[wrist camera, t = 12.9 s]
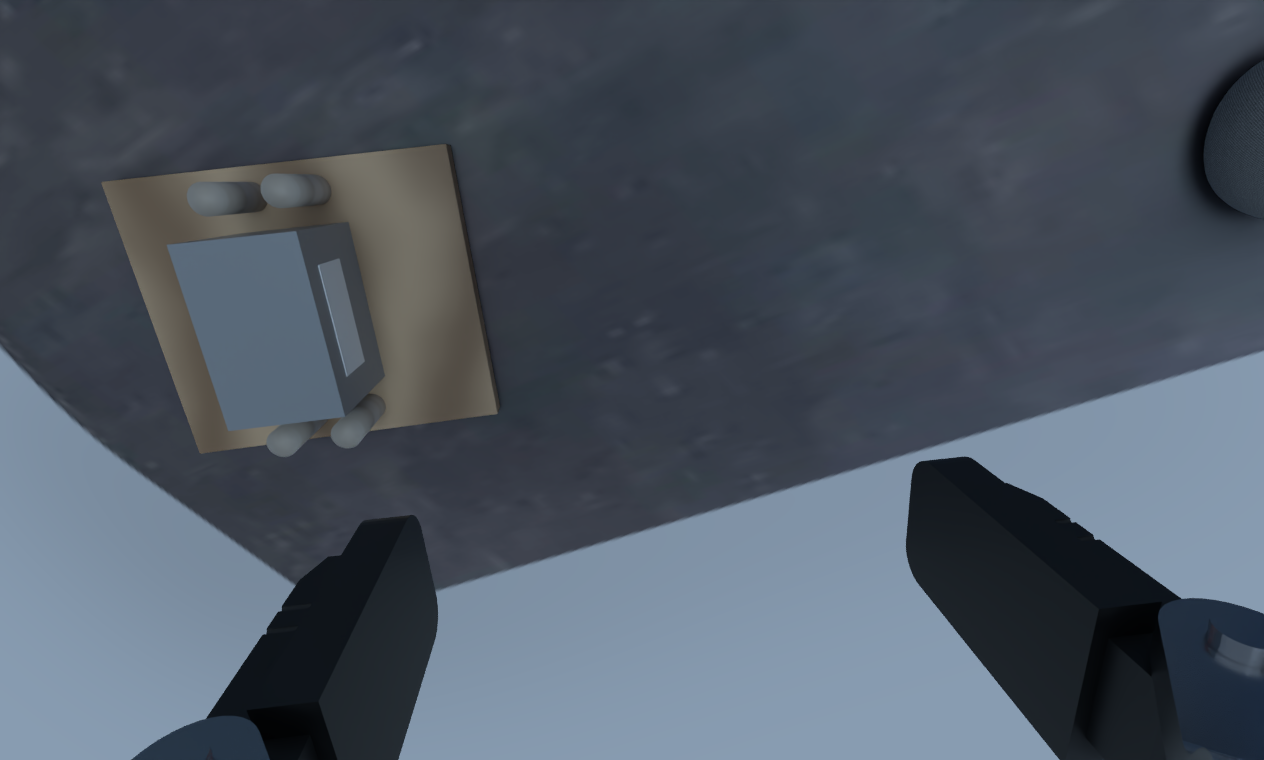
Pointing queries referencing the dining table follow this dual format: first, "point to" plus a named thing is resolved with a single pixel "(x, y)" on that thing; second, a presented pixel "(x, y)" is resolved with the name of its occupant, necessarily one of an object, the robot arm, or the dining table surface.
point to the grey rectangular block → (281, 323)
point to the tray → (389, 265)
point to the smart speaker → (1239, 145)
